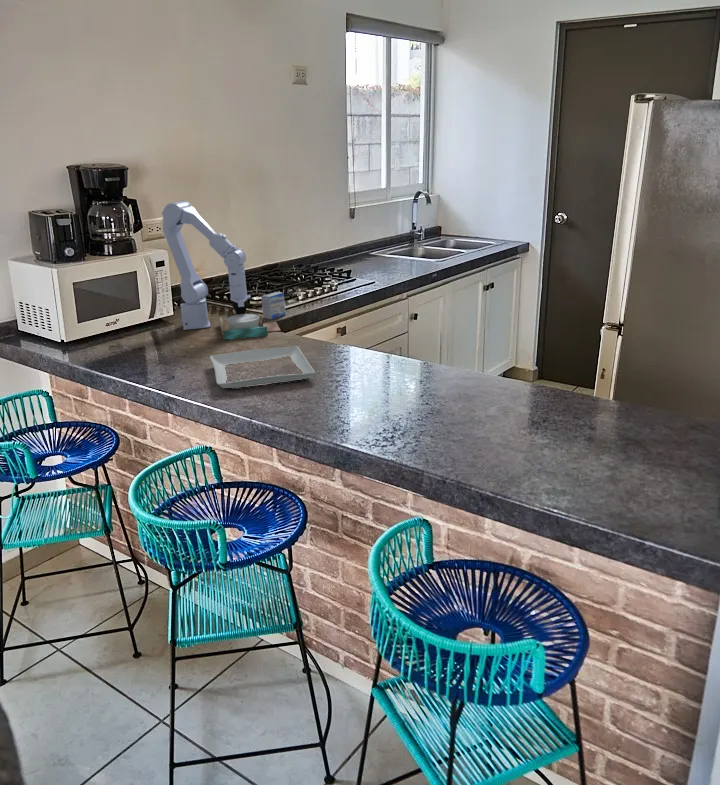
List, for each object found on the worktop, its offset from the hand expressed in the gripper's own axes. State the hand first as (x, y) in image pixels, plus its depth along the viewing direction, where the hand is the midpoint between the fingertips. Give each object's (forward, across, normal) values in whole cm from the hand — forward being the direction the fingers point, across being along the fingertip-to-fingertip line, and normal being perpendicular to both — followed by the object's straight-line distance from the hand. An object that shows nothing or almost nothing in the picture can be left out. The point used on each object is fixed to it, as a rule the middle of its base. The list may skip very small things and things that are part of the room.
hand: (241, 322), depth 254 cm
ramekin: (+2, -7, 0) cm, 8 cm away
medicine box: (+2, +11, -13) cm, 17 cm away
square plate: (+2, -53, -1) cm, 53 cm away
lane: (+2, -4, -3) cm, 5 cm away
